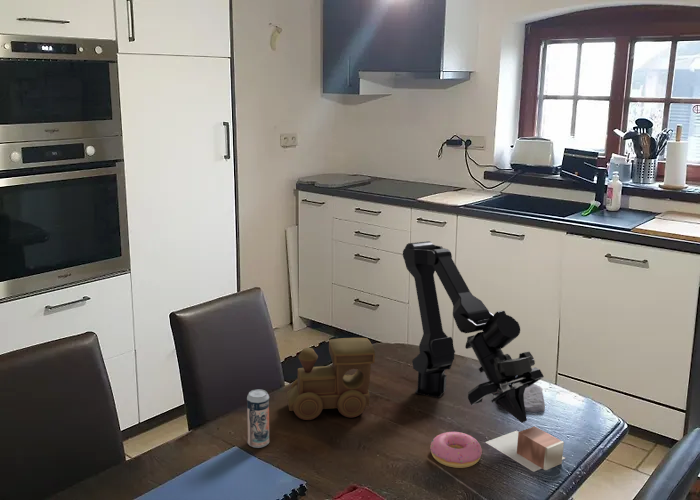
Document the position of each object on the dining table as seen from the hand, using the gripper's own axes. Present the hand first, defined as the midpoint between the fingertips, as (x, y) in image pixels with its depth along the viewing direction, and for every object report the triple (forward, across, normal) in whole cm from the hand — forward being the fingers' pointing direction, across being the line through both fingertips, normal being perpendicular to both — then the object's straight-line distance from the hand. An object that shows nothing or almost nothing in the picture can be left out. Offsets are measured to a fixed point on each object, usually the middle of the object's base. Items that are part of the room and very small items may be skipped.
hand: (524, 421), depth 150 cm
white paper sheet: (+5, 0, +4) cm, 7 cm away
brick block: (+3, 0, +2) cm, 4 cm away
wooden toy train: (-22, -26, +32) cm, 46 cm away
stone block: (-6, +16, +16) cm, 24 cm away
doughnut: (+1, -14, +9) cm, 17 cm away
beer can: (-18, -48, +28) cm, 58 cm away
